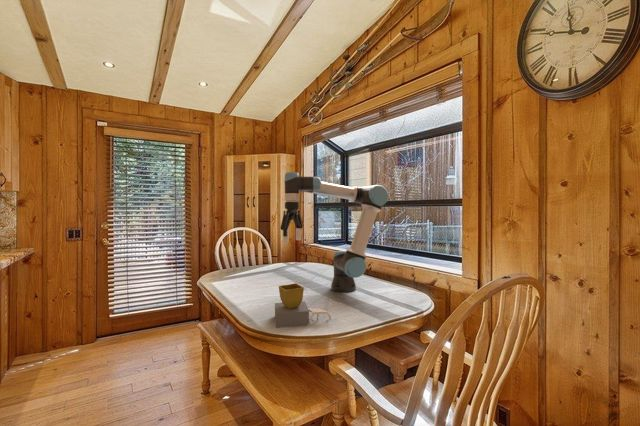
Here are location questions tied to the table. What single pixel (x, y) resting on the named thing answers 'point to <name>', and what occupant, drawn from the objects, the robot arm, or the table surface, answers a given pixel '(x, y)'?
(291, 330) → the table surface
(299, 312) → the base block
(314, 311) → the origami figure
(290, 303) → the flower pot
